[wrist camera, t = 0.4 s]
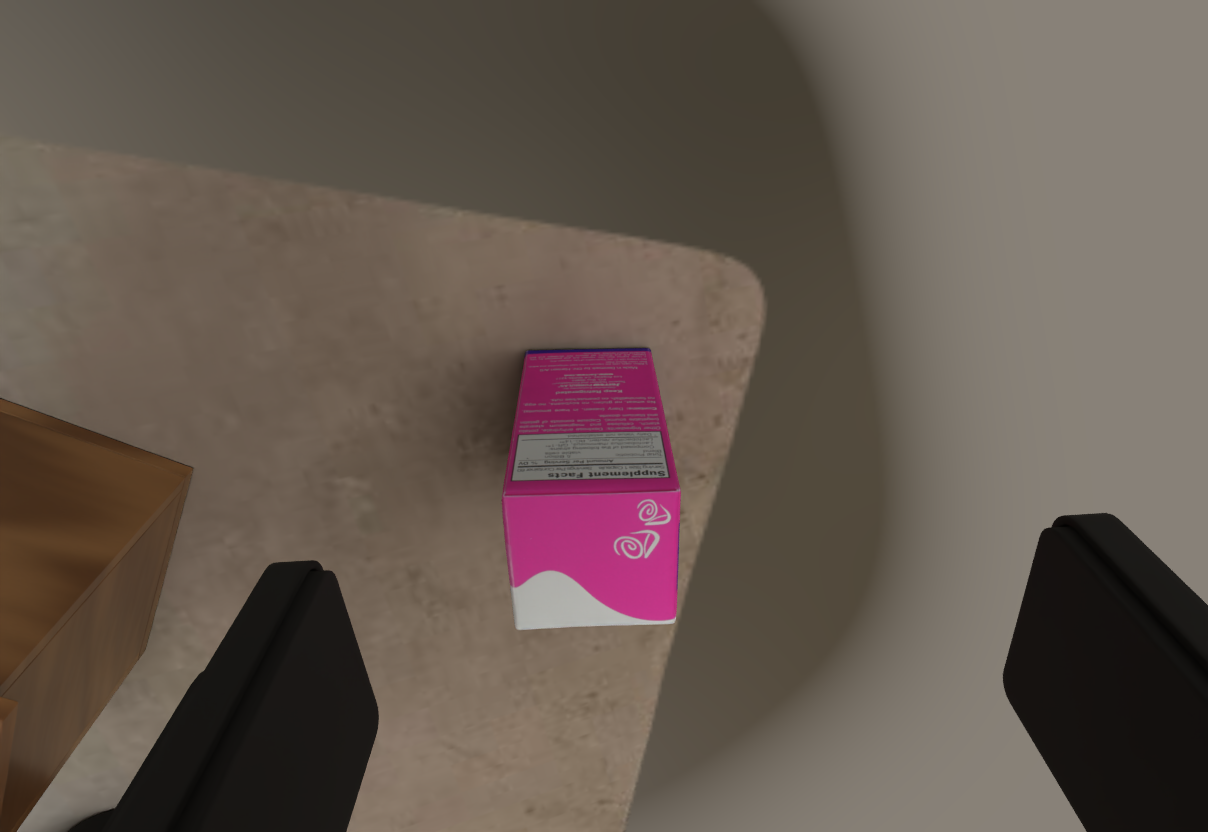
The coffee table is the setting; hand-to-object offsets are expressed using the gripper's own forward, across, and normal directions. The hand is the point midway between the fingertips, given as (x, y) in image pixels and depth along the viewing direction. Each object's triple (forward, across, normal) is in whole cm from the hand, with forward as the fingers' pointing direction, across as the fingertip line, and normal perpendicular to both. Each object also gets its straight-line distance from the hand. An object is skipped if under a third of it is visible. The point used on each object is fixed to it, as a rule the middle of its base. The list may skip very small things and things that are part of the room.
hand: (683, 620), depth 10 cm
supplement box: (+23, +2, +8) cm, 24 cm away
